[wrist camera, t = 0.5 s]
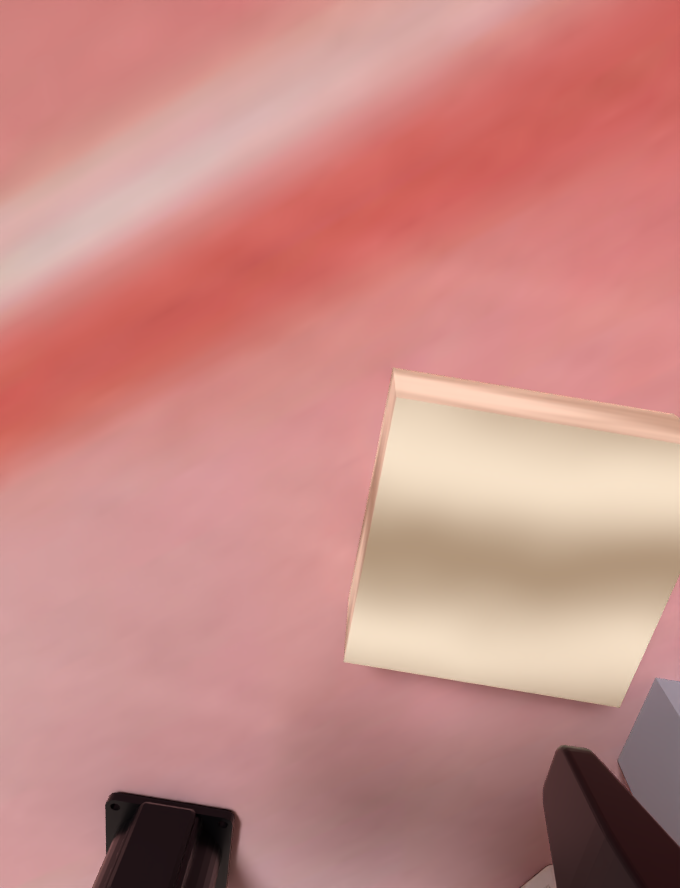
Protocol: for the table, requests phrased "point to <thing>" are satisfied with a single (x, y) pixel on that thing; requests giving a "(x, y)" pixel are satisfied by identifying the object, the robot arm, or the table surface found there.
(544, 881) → the light bulb box
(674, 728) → the slate cube
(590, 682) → the flat wooden block
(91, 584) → the table surface
